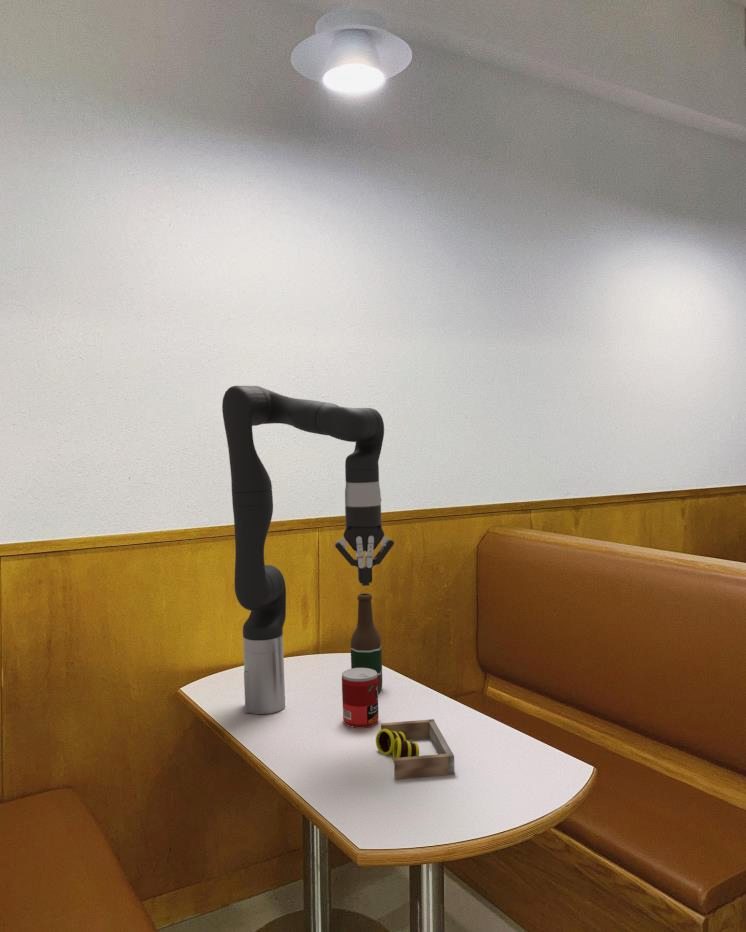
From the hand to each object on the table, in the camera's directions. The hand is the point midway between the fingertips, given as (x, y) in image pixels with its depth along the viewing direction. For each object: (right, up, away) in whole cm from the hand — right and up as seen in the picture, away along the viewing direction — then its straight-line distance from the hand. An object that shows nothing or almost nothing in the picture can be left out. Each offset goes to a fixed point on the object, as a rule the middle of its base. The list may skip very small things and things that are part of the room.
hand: (365, 584), depth 165 cm
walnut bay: (+10, -32, -10) cm, 35 cm away
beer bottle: (0, -31, +29) cm, 42 cm away
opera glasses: (+7, -33, -10) cm, 35 cm away
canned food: (-1, -32, +9) cm, 33 cm away
